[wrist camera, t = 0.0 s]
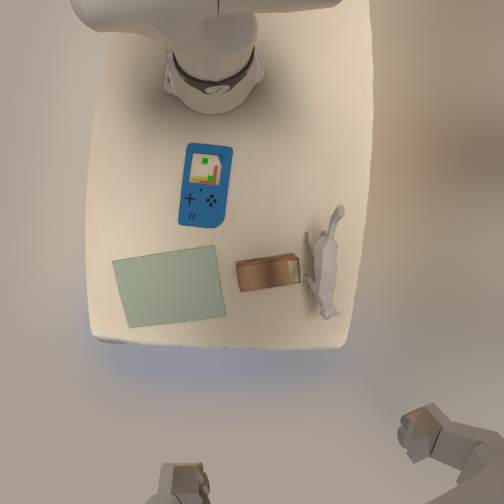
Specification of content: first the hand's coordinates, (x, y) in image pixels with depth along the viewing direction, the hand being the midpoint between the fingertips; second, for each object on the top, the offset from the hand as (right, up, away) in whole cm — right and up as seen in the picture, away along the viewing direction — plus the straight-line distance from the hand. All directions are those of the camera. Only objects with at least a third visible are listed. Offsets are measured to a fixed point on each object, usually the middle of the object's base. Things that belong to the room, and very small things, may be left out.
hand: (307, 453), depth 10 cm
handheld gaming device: (-11, +20, +45) cm, 50 cm away
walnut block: (0, +5, +49) cm, 49 cm away
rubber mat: (-18, +1, +47) cm, 51 cm away
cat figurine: (+10, +8, +49) cm, 51 cm away
